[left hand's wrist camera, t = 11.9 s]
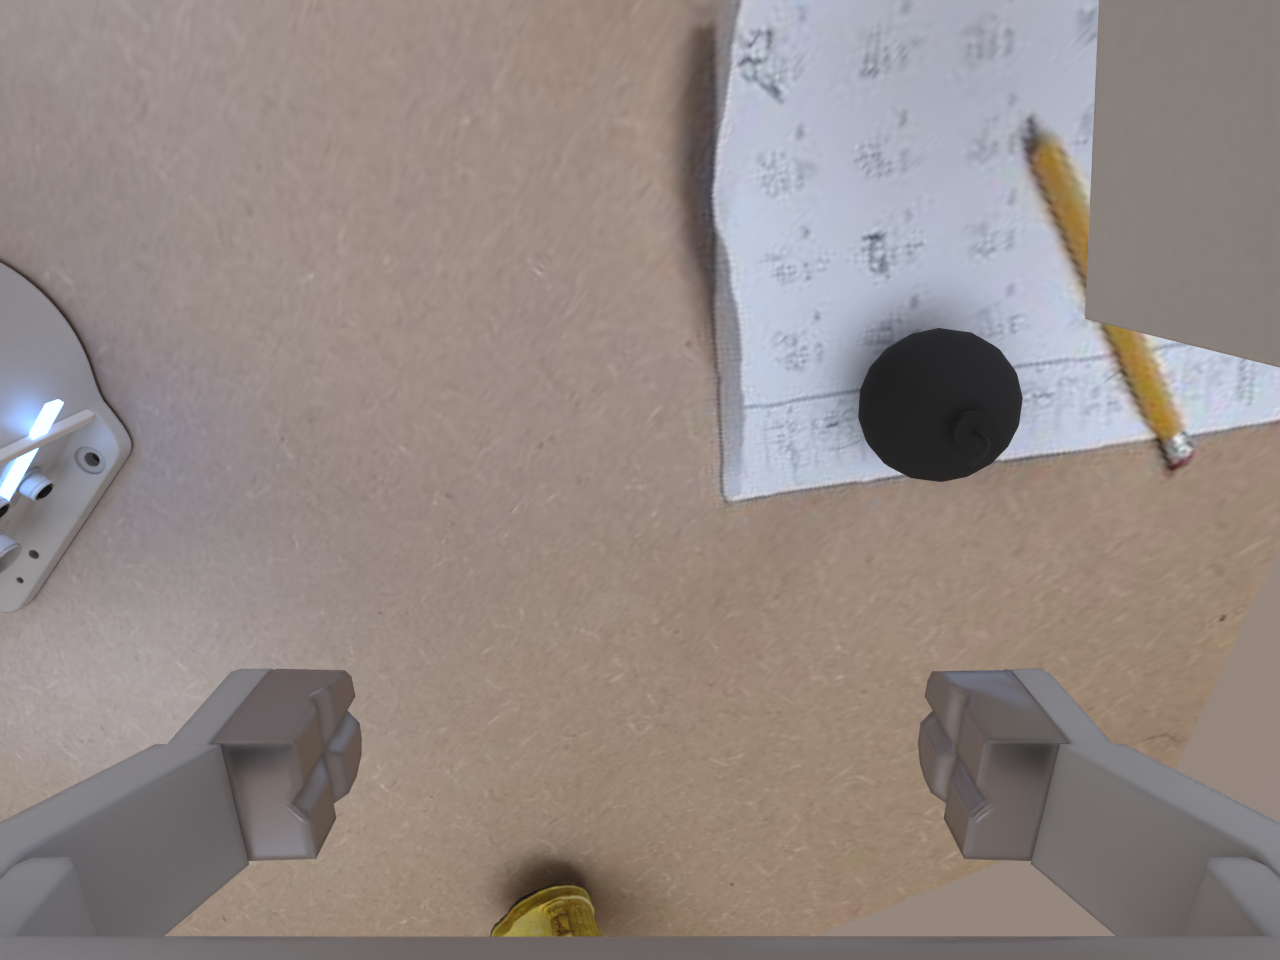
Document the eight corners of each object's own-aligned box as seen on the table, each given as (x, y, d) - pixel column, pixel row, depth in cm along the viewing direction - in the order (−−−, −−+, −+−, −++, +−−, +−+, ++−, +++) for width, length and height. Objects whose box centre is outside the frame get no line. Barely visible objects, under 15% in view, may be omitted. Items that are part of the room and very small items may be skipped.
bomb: (961, 295, 41) (1084, 330, 29) (994, 425, 43) (1119, 502, 32) (824, 350, 42) (892, 403, 30) (864, 473, 44) (941, 564, 33)
